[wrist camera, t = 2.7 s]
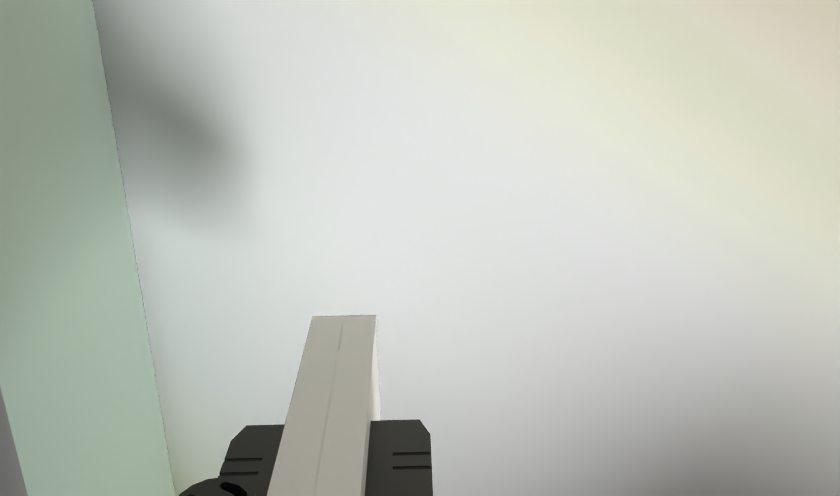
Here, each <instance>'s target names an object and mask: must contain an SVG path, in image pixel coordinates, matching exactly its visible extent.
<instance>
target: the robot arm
mask: <svg viewBox="0 0 840 496" xmlns="http://www.w3.org/2000/svg"><path fill="white" fill-rule="evenodd" d="M380 415H381V410H380V389H379V367H378V345H377V324H376V315H351V316H313V317H312V321H311V325H310V329H309V333H308V337H307V340H306V344H305V348H304V352H303V356H302V360H301V364H300V368H299V372H298V376H297V379H296V383H295V387H294V391H293V395H292V399H291V403H290V407H289V411H288V415H287V419H286V422H285V425H252V426H246V427H245V428H244V429H243V430H242V431H241V432H240V433H239V434H238V435H237V436H236V437H235V438H234V439H233V440H232V441H231V442H230V445H229V448H228V451H227V454H226V456H225V462H223V465H222V468H221V470H220V476H218V478H213V479H207V480H205V481H202V482H199V483H197V484H194V485H192V486H191V487H189V488H188V489H187V490H185V491H184V492H182V493H181V494H180V495H179V496H433V488H432V465H431V441H430V433H429V432H428V431H427V429H426V428H425V427H424V425H423V424H422V422H421V421H420V420H383V421H380Z"/></svg>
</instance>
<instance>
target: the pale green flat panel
mask: <svg viewBox="0 0 840 496" xmlns="http://www.w3.org/2000/svg"><path fill="white" fill-rule="evenodd" d="M0 496H175V491H174V485H173V479H172V473H171V467H170V461H169V455H168V449H167V443H166V437H165V431H164V425H163V419H162V413H161V407H160V401H159V395H158V389H157V383H156V377H155V371H154V365H153V359H152V353H151V347H150V341H149V335H148V329H147V323H146V317H145V311H144V305H143V299H142V293H141V287H140V281H139V275H138V269H137V263H136V257H135V251H134V245H133V239H132V233H131V228H130V222H129V216H128V210H127V204H126V198H125V192H124V186H123V180H122V174H121V168H120V162H119V156H118V150H117V144H116V138H115V132H114V126H113V120H112V114H111V108H110V102H109V96H108V90H107V84H106V78H105V72H104V66H103V60H102V54H101V48H100V42H99V36H98V30H97V24H96V18H95V12H94V6H93V0H0Z"/></svg>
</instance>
